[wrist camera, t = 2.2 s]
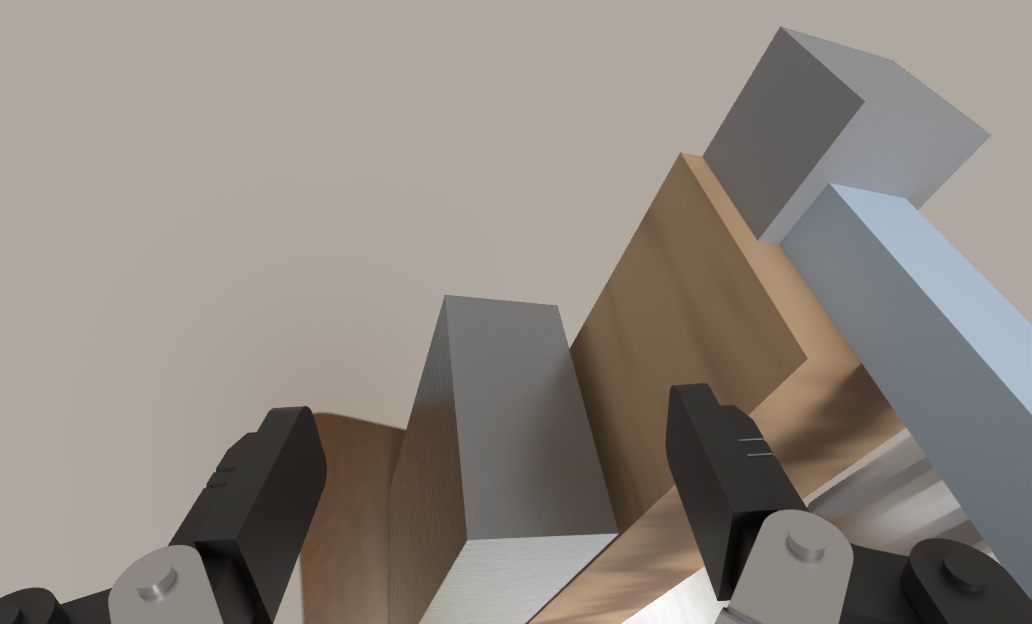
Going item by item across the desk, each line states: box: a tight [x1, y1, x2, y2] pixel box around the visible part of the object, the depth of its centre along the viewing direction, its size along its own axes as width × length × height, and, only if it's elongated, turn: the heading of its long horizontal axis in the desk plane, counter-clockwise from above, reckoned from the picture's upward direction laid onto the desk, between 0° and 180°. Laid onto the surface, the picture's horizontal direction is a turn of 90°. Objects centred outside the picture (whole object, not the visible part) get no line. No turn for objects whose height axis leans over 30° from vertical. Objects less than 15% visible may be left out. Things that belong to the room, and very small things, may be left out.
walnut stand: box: [525, 153, 906, 624], centre depth 30 cm, size 7×10×32 cm
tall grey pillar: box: [389, 295, 619, 624], centre depth 32 cm, size 6×12×22 cm, turn 9°
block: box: [703, 27, 1032, 600], centre depth 15 cm, size 5×19×5 cm, turn 9°
